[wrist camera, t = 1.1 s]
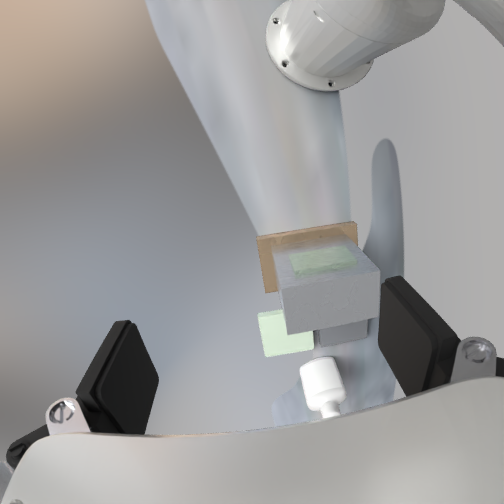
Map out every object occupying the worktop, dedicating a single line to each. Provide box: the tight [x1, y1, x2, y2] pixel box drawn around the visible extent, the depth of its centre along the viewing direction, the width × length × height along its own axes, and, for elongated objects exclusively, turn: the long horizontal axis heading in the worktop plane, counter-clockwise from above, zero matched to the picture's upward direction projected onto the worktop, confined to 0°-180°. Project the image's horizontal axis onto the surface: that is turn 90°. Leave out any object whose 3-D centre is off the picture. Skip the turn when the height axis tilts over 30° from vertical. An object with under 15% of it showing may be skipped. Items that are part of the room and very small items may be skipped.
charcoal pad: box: [319, 319, 368, 347], centre depth 41 cm, size 7×7×1 cm
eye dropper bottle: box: [300, 357, 347, 419], centre depth 39 cm, size 4×6×12 cm
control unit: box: [256, 221, 380, 335], centre depth 32 cm, size 7×12×12 cm, turn 99°
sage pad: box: [258, 309, 314, 357], centre depth 41 cm, size 7×7×1 cm
